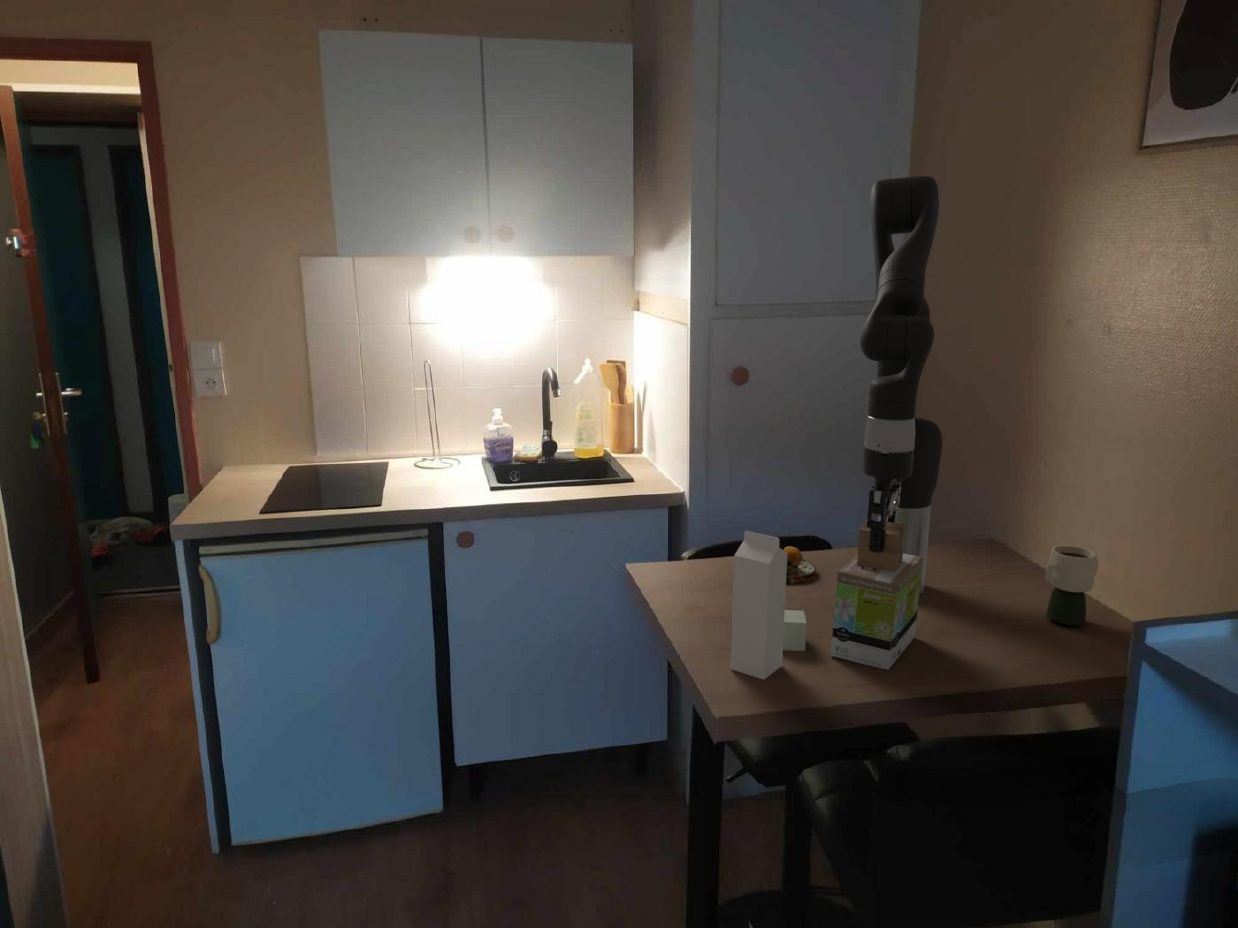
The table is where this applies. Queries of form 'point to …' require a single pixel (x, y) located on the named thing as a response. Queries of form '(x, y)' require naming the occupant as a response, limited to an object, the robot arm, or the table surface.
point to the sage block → (794, 630)
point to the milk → (758, 606)
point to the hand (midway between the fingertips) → (881, 543)
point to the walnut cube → (892, 548)
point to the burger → (798, 567)
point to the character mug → (1070, 583)
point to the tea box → (875, 612)
